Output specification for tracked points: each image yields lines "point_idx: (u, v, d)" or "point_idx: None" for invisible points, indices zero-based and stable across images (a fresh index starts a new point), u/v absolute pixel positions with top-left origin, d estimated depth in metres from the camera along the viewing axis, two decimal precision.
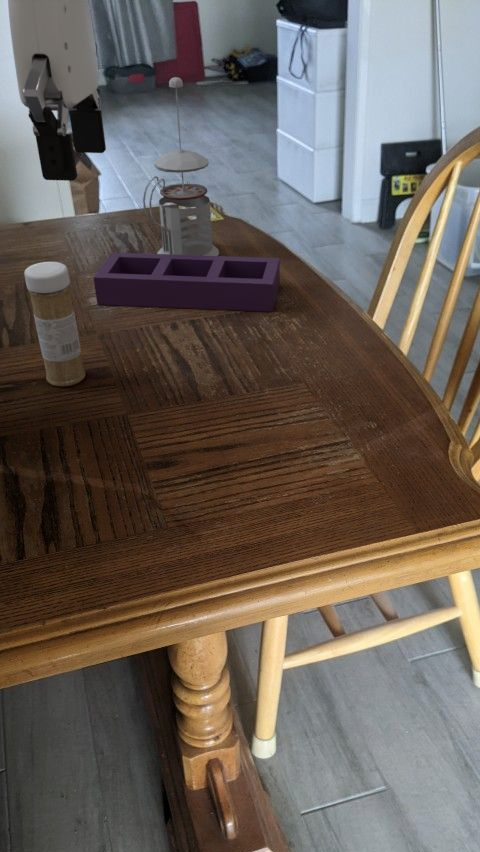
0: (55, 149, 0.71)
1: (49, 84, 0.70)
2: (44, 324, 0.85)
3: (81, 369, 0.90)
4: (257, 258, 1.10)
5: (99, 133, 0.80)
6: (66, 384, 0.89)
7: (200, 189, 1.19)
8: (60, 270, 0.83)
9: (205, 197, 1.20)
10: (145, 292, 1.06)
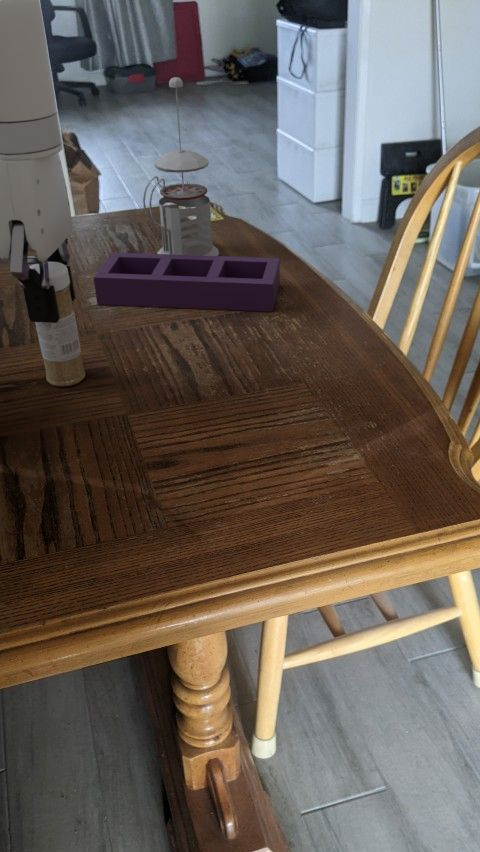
0: (40, 299, 0.81)
1: None
2: (44, 324, 0.85)
3: (81, 369, 0.90)
4: (257, 258, 1.10)
5: None
6: (66, 384, 0.89)
7: (200, 189, 1.19)
8: (60, 270, 0.83)
9: (205, 197, 1.20)
10: (145, 292, 1.06)
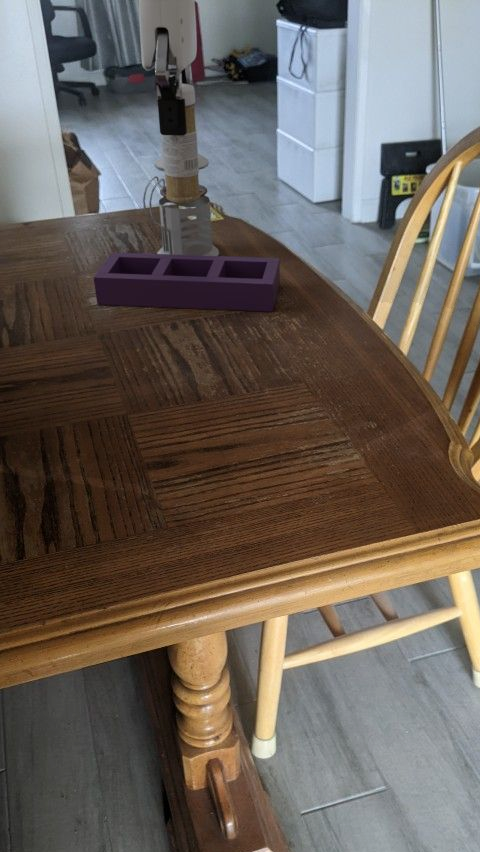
0: (172, 110, 0.92)
1: None
2: (172, 138, 0.96)
3: (198, 189, 1.01)
4: (257, 258, 1.10)
5: None
6: (185, 200, 1.00)
7: (200, 189, 1.19)
8: (189, 87, 0.94)
9: (205, 197, 1.20)
10: (145, 292, 1.06)
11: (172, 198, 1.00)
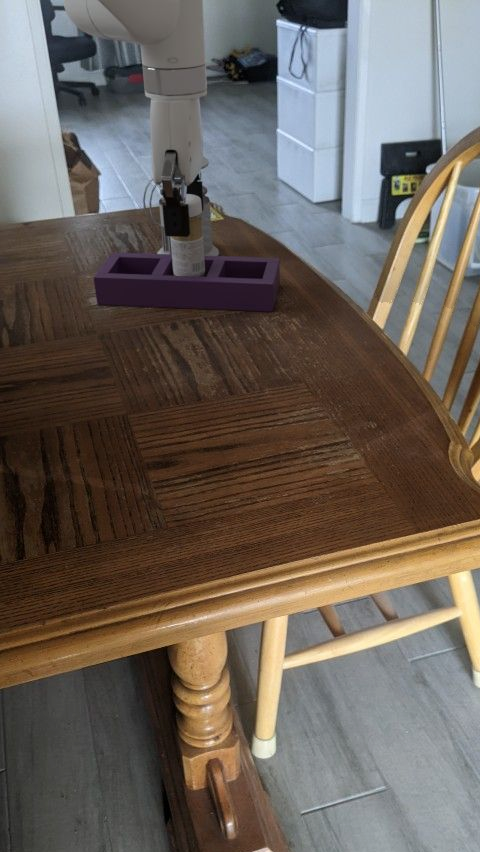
0: (177, 215, 0.98)
1: None
2: (180, 245, 1.04)
3: None
4: (257, 258, 1.10)
5: (200, 198, 1.06)
6: None
7: None
8: (196, 199, 1.02)
9: (205, 197, 1.20)
10: (145, 292, 1.06)
11: None
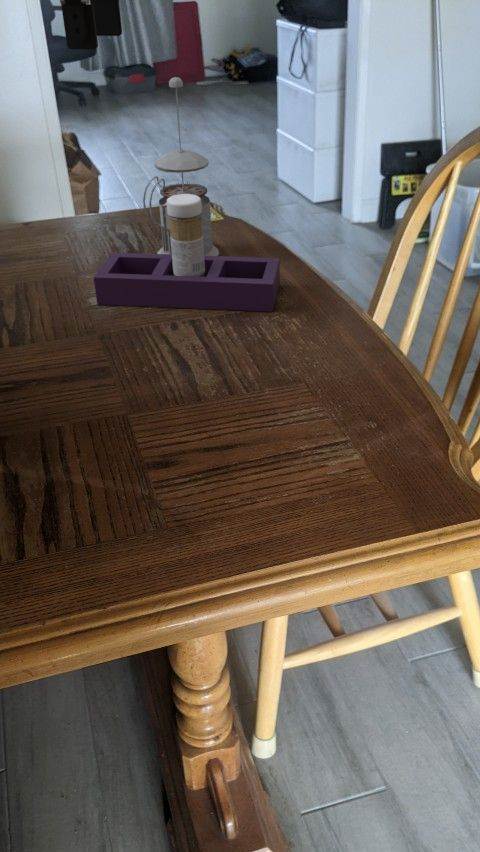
0: (79, 17, 0.79)
1: None
2: (180, 245, 1.04)
3: None
4: (257, 258, 1.10)
5: (116, 16, 0.88)
6: None
7: (200, 189, 1.19)
8: (196, 199, 1.02)
9: (205, 197, 1.20)
10: (145, 292, 1.06)
11: None
